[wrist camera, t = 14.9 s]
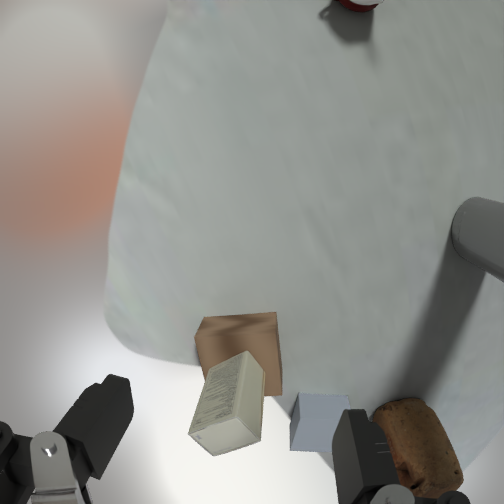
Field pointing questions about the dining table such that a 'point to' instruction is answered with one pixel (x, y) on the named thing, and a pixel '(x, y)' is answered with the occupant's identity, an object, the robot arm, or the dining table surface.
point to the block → (419, 448)
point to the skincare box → (230, 406)
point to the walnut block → (242, 344)
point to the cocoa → (360, 4)
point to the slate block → (316, 421)
